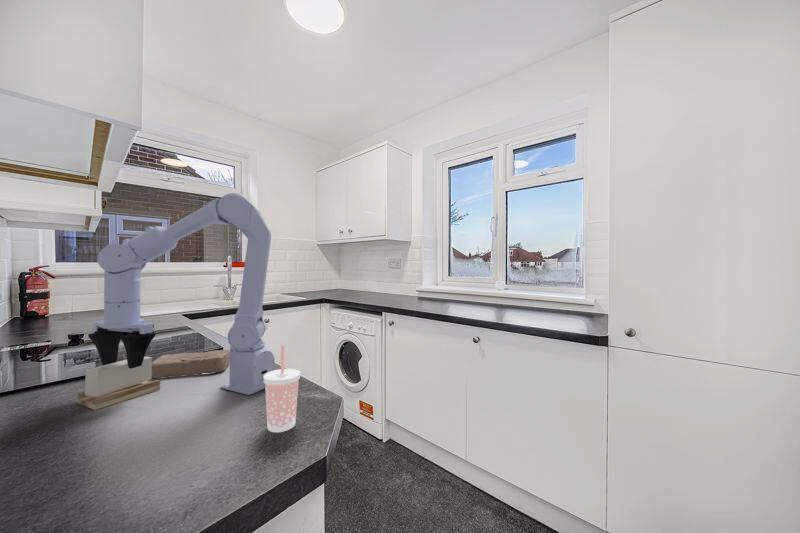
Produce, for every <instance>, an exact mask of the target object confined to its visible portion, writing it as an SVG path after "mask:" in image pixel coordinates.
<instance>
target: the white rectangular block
mask: <svg viewBox="0 0 800 533" xmlns="http://www.w3.org/2000/svg"><path fill="white" fill-rule="evenodd" d="M152 362H153V357H151V356H144V360H143V363H142V366H139V367H135V368H129V367H128V363H127V359H124V360H120V361H116V362H115V363H111V364H107V365H103V364H102V365H99V366H96V367H93V368H88V369H86V370H85V380H84V382H85V383H84V386H85V387H84V388H85V390H84V391H85V395H87V396H93V397H100V396H103V395H106V394H109V393H112V392H115V391H118V390H121V389H124V388H127V387H130V386H133V385H136V384H139V383H142V382H145V381H148V382H149V381H150V380H153V379H152Z"/></svg>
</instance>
